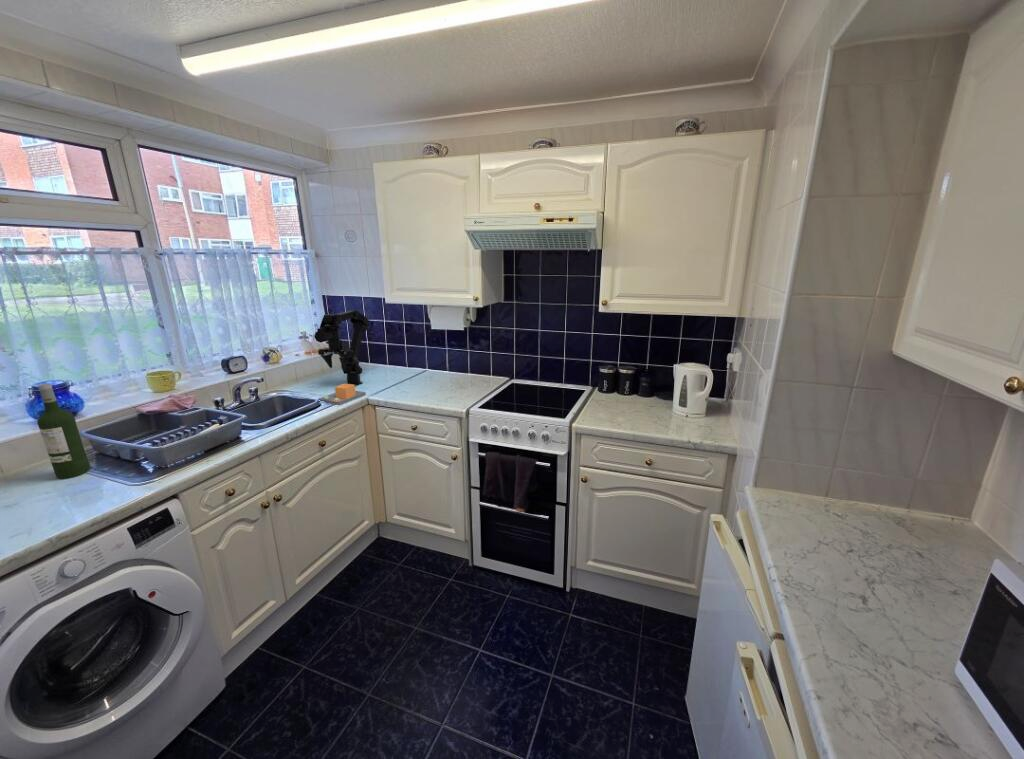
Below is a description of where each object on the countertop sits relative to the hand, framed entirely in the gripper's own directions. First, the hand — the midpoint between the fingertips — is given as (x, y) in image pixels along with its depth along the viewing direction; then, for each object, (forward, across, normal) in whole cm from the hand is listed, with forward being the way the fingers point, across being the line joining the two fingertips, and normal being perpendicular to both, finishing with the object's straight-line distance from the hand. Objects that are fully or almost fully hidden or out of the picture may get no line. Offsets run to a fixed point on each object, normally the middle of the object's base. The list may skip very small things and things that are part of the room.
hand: (337, 368), depth 215 cm
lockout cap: (+10, -14, +10) cm, 21 cm away
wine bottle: (+12, +12, +101) cm, 103 cm away
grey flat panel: (+12, -11, +10) cm, 19 cm away
